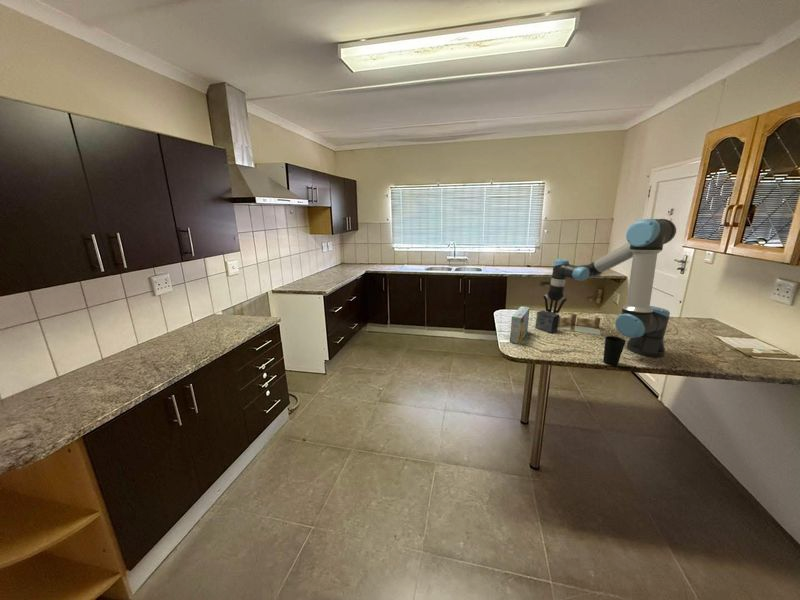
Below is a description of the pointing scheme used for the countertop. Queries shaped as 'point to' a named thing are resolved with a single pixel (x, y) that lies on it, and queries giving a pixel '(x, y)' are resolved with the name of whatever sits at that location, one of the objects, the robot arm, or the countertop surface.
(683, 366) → the countertop surface
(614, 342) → the cup
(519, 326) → the snack box
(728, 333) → the countertop surface
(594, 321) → the fence fixed
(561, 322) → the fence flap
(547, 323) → the small box
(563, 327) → the card
